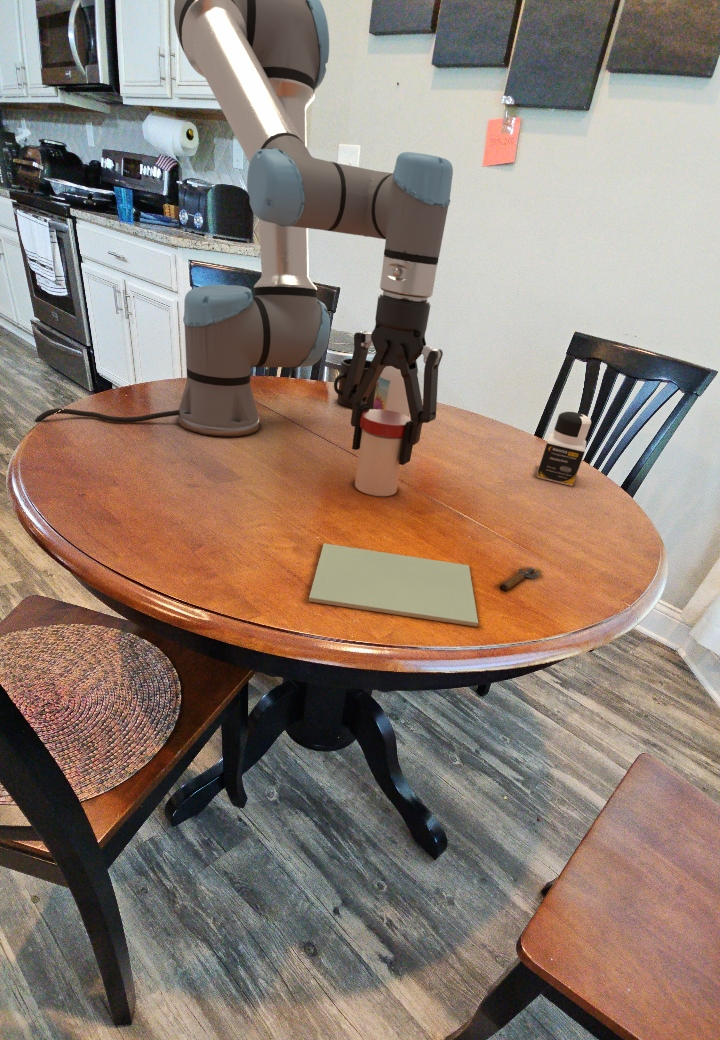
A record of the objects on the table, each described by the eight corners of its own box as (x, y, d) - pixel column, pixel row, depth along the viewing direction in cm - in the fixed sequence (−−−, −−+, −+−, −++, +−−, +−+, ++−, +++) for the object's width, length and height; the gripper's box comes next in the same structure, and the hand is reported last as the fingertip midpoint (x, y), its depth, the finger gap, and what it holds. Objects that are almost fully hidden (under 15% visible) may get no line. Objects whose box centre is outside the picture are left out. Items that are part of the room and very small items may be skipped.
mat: (308, 601, 68) (309, 597, 68) (323, 546, 80) (323, 542, 79) (477, 627, 69) (478, 622, 68) (468, 568, 80) (469, 565, 80)
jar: (353, 492, 96) (361, 423, 90) (356, 476, 102) (365, 411, 95) (396, 499, 96) (408, 431, 90) (397, 482, 102) (408, 418, 96)
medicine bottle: (535, 477, 114) (555, 414, 107) (539, 466, 119) (558, 406, 112) (572, 486, 112) (595, 423, 105) (574, 475, 118) (596, 414, 111)
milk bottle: (406, 428, 129) (423, 327, 117) (405, 439, 123) (423, 333, 111) (371, 422, 129) (385, 321, 117) (368, 433, 123) (383, 327, 111)
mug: (320, 400, 138) (324, 358, 133) (360, 397, 145) (365, 358, 139) (343, 412, 132) (348, 369, 127) (384, 409, 139) (390, 368, 134)
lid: (382, 440, 89) (384, 427, 88) (349, 423, 93) (351, 411, 92) (419, 434, 93) (421, 422, 92) (386, 419, 98) (388, 407, 97)
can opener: (504, 593, 77) (507, 586, 76) (490, 585, 78) (492, 578, 77) (542, 576, 82) (545, 569, 81) (528, 568, 83) (531, 561, 82)
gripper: (328, 283, 83) (315, 442, 96) (463, 312, 76) (428, 479, 90) (354, 282, 89) (338, 433, 102) (482, 309, 82) (447, 467, 95)
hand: (380, 454), depth 96 cm, fingers closed on lid, 8 cm apart
